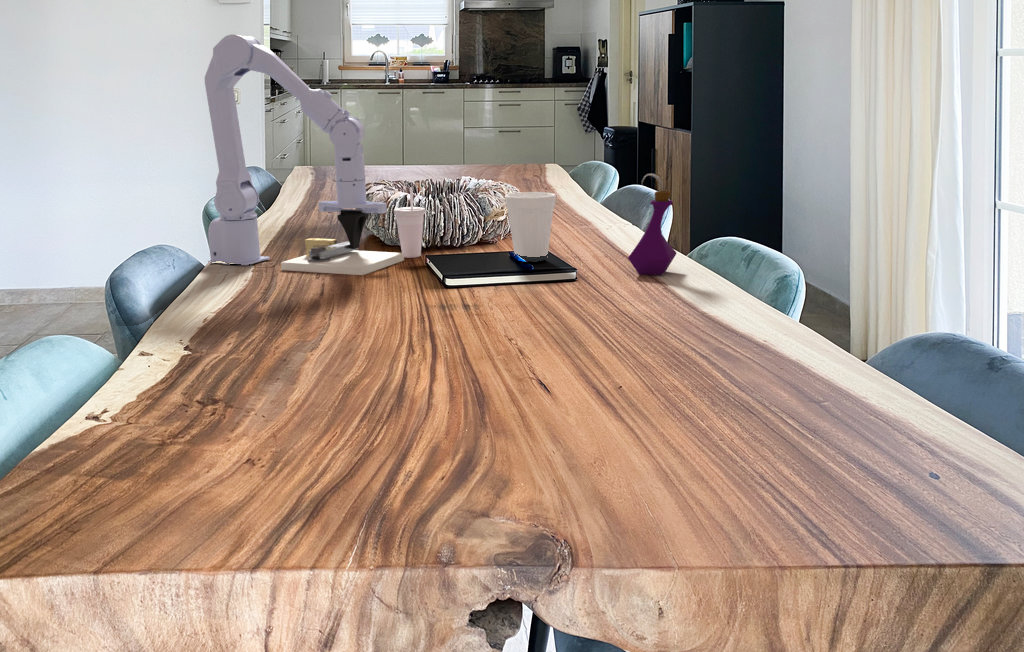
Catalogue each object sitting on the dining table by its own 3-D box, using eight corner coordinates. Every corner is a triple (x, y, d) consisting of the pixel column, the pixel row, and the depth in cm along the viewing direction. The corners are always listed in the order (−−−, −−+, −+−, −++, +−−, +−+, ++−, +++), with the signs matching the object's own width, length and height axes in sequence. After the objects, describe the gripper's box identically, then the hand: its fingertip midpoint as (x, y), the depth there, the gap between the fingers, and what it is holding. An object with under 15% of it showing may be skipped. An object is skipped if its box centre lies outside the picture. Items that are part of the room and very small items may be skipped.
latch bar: (320, 259, 193) (320, 249, 193) (308, 258, 194) (307, 248, 194) (358, 249, 204) (357, 239, 203) (346, 248, 205) (345, 239, 205)
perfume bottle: (676, 270, 186) (678, 171, 182) (669, 277, 179) (670, 175, 175) (636, 268, 189) (637, 171, 184) (627, 275, 182) (628, 175, 177)
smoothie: (422, 259, 203) (419, 189, 199) (391, 258, 204) (388, 189, 201) (430, 253, 209) (428, 185, 205) (401, 253, 210) (398, 185, 207)
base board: (281, 270, 194) (280, 261, 194) (327, 256, 208) (326, 247, 208) (362, 275, 187) (361, 266, 187) (404, 260, 202) (403, 251, 201)
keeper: (306, 256, 200) (304, 239, 199) (311, 254, 202) (310, 238, 201) (331, 257, 198) (330, 240, 197) (337, 255, 200) (336, 239, 199)
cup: (566, 259, 199) (565, 193, 196) (540, 268, 191) (539, 198, 188) (523, 255, 204) (522, 190, 201) (495, 263, 196) (494, 196, 193)
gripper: (392, 178, 199) (396, 246, 203) (330, 177, 205) (335, 243, 208) (374, 182, 193) (378, 252, 196) (310, 181, 199) (315, 249, 202)
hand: (355, 248), depth 202 cm, fingers closed, pressing on latch bar
